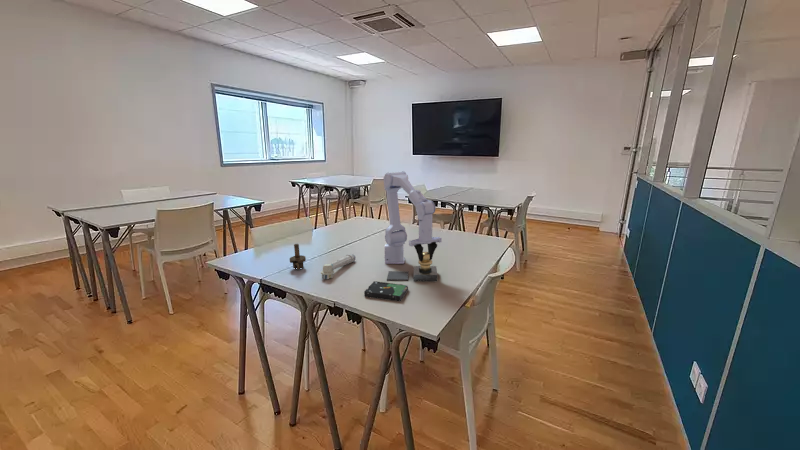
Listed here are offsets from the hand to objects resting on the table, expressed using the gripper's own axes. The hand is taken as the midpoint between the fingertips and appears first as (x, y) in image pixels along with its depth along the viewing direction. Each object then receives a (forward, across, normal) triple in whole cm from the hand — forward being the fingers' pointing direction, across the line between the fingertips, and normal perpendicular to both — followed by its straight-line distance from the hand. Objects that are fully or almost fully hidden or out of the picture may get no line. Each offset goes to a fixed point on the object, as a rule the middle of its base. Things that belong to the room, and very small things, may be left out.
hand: (425, 259), depth 140 cm
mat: (+8, -11, +5) cm, 14 cm away
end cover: (+4, 0, 0) cm, 4 cm away
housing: (+8, 0, 0) cm, 8 cm away
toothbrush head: (+8, -33, +24) cm, 42 cm away
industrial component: (+8, -50, +34) cm, 61 cm away
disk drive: (+9, -21, -9) cm, 24 cm away
